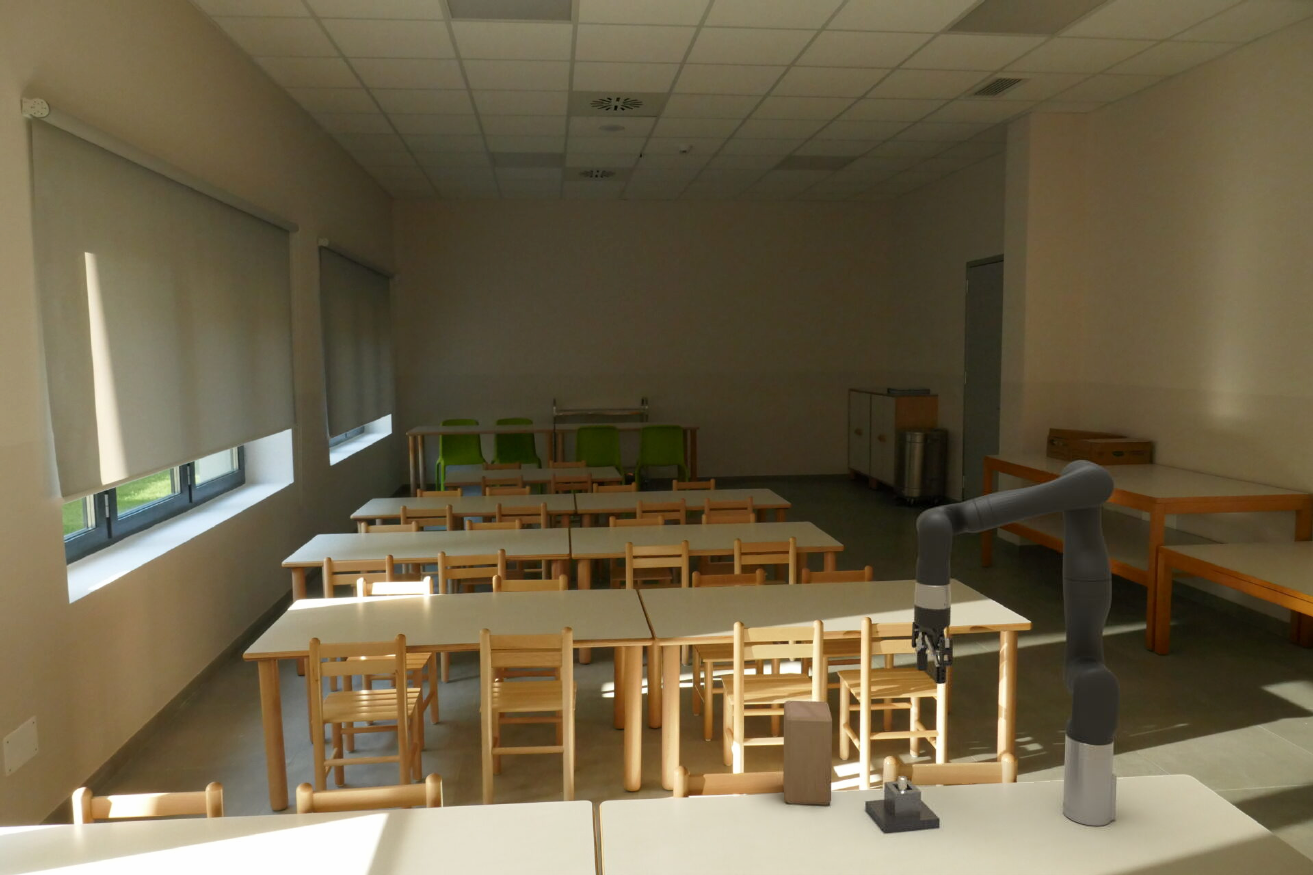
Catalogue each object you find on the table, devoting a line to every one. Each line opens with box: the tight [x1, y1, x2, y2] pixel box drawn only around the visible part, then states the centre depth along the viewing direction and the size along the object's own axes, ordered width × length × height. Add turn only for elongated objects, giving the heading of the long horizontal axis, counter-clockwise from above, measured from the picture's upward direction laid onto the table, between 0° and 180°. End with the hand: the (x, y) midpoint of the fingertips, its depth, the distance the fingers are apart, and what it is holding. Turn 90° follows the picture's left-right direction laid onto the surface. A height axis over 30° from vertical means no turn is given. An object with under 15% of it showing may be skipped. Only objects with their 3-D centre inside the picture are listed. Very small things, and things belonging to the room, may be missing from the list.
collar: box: [883, 779, 922, 817], centre depth 196 cm, size 6×6×5 cm
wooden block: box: [782, 700, 833, 806], centre depth 207 cm, size 10×10×20 cm
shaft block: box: [864, 775, 941, 834], centre depth 196 cm, size 12×10×9 cm
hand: (930, 676), depth 202 cm, fingers open, 8 cm apart
